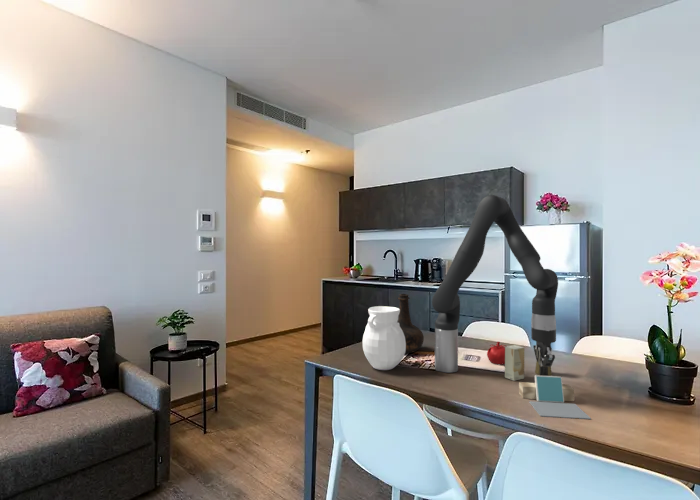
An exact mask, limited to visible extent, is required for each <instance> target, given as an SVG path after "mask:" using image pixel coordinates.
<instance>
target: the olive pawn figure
mask: <svg viewBox="0 0 700 500" xmlns="http://www.w3.org/2000/svg"><path fill="white" fill-rule="evenodd" d="M534 373H535V375H539V376H540V367H539V364H538V362H537V361H535V369H534ZM548 376H553V372H552V366H551V367H548Z"/></svg>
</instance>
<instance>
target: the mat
mask: <svg viewBox="0 0 700 500" xmlns="http://www.w3.org/2000/svg"><path fill="white" fill-rule="evenodd" d="M528 402H529V404H530V405H531V406H532V407H533V409H534V411H536V413H537V414H538V415H539V416H540V417H544V418H545V417H546V418H560V417H561V418H560V419H563V418H564V419H575V418H579V420H592V418H591V417H590V416H589V415H588V414H587V413H586V412H585V411H583V410H582V409H581V408H580V407H579V406H578V405H577V404H576V403H570V402H569V403H568V402H564V403H561V402H543V401H531V400H529V401H528Z"/></svg>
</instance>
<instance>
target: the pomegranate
mask: <svg viewBox="0 0 700 500" xmlns="http://www.w3.org/2000/svg"><path fill="white" fill-rule="evenodd" d="M489 346H490V347H489V348H488V350H487V352H486V356H487V359H488V361H490V363H492V364H494V365H498V364H500V365H501V366H502V365H503V364H504V365H505V347H507V346H508V345H504V344H500V341H497V342H496V343H495V345H494V344H490V345H489Z"/></svg>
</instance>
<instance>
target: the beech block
mask: <svg viewBox="0 0 700 500" xmlns="http://www.w3.org/2000/svg"><path fill="white" fill-rule="evenodd" d="M562 386H563V396H564V402H565V401H567V402H575V388H574V387H572V386H571V385H570V384H566V383H565V384H564V383H562ZM518 393H519V396H521V398H522V399H526V400H527V399H528V400H537V398H536V386H535V382H527V381H526V382H522V381H519V382H518Z"/></svg>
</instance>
